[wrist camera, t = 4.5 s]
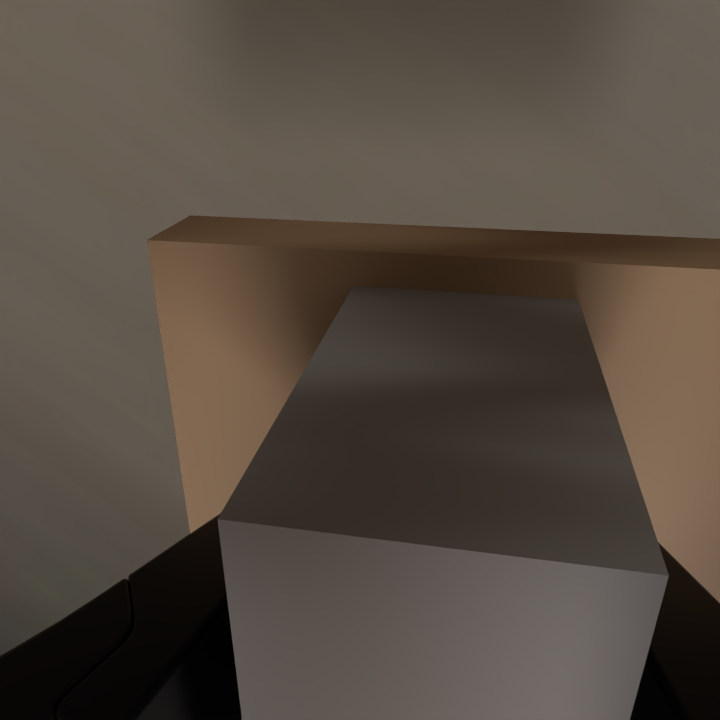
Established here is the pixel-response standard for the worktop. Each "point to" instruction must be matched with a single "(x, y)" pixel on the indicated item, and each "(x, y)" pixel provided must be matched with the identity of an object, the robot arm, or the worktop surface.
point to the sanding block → (443, 457)
